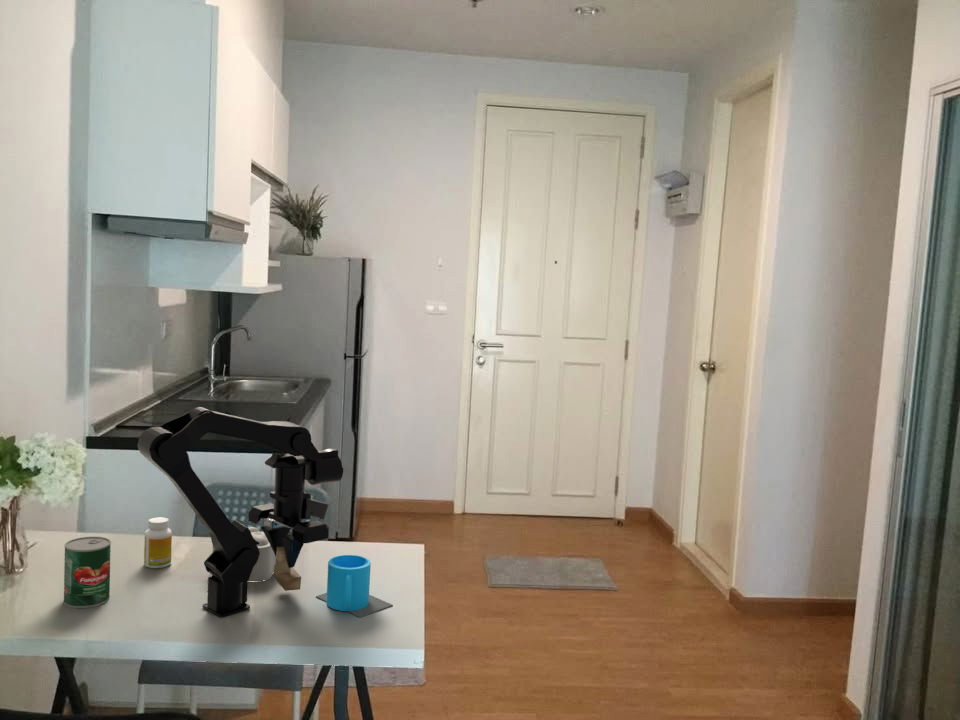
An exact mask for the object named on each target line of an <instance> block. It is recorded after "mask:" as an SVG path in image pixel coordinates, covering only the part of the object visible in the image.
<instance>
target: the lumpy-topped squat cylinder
mask: <svg viewBox="0 0 960 720" xmlns="http://www.w3.org/2000/svg"><path fill="white" fill-rule="evenodd" d="M247 528H248V529H249V530H250V532H251V534H252V536H253V538H254V539H255V540H256V541H258V542H259V544H258V545H257V547H258V548H259V551H260V555H259V558H258V561H257V563H256V564H255V565H254V567H253V570H252V572H251V575H250V578H249V580H248V581H263V580H267V579H269V578H270V577H271V578H272V576H273V574H274V573H273V572H274V564H275V562H276V556H275V554H274V552H273V550H272V547H271V545H270V543H269V541H268V539H267V538H266V536H265V534H264V532H263V531H260V530H259V529H258V528H257V527H254V526H250V527H249V526H248V527H247ZM214 550H215V548H214V546H213V545H212V553H213V551H214ZM212 553H211V554H212ZM272 573H273V574H272ZM271 575H272V576H271ZM271 578H270V579H271ZM270 579H269V580H270ZM267 581H268V580H267ZM263 582H264V581H263Z"/></svg>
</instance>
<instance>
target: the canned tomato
mask: <svg viewBox="0 0 960 720" xmlns="http://www.w3.org/2000/svg"><path fill="white" fill-rule="evenodd" d="M111 544H112V541H111V540H110V539H109V538H107V537H103V536H82V537H78V538H73V539H70V540H68V541H67V542H65V543H64V560H63V561H64V563H63V564H64V565H63V566H64V567H63V569H64V571H63V573H64V576H63V577H64V578H63V582H64V583H63V585H64V586H63V604H64V605H65V606H66V607H69V608H74V609H88V608H94V607H98V606H101V605H103V604H105V603H107V602H108V601H109V600H110V597H111V596H110V589H111V588H110V587H111V585H110V584H111Z"/></svg>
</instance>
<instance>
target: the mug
mask: <svg viewBox="0 0 960 720" xmlns="http://www.w3.org/2000/svg"><path fill="white" fill-rule="evenodd" d="M371 564H372V562H371V559H370V558H367V557H365V556H363V555H357V554H342V555H336V556H333V557H331V558H330V559H329V560H328V562H327V578H326V580H327V582H326V583H327V584H326V593H327V600H326V602H325V603H326V605H327V606H328V607H329V608H331V609H333V610H336V611H341V612H342V611H344V612H347V611H354V610H359V609H362V608H365V607H366V606H367V605H368V603H369V595H370V586H371V585H370V584H371V583H370V582H371V568H372V567H371Z"/></svg>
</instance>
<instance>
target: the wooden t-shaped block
mask: <svg viewBox="0 0 960 720" xmlns="http://www.w3.org/2000/svg"><path fill="white" fill-rule="evenodd" d="M272 576H273V578H274V579H275V580H276V581H277V583H278V584H279V585H280V587H282V589H283V590H284V592H285V591H287V592H288V591H296V590H297V591H298V590H301V584H302V576H301V575H300V574H299V572H297V570H296V569H295V568H294V567H292V568H289V567H288V564H287V560H286V555H285V550H284V547H277V550H276V562H275V564H274V573H273V574H272Z"/></svg>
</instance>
